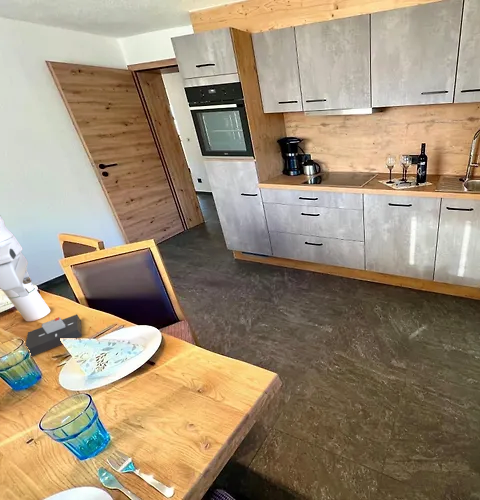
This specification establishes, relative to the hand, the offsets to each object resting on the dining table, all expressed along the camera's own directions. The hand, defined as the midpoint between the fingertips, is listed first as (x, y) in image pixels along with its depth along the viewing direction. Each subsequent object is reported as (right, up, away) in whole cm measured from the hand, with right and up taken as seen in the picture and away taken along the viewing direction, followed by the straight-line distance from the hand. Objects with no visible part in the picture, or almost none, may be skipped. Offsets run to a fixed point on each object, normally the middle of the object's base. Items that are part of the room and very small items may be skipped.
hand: (26, 288), depth 89 cm
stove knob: (0, -15, +9) cm, 17 cm away
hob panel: (0, -18, +10) cm, 20 cm away
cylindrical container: (-19, -13, +21) cm, 32 cm away
